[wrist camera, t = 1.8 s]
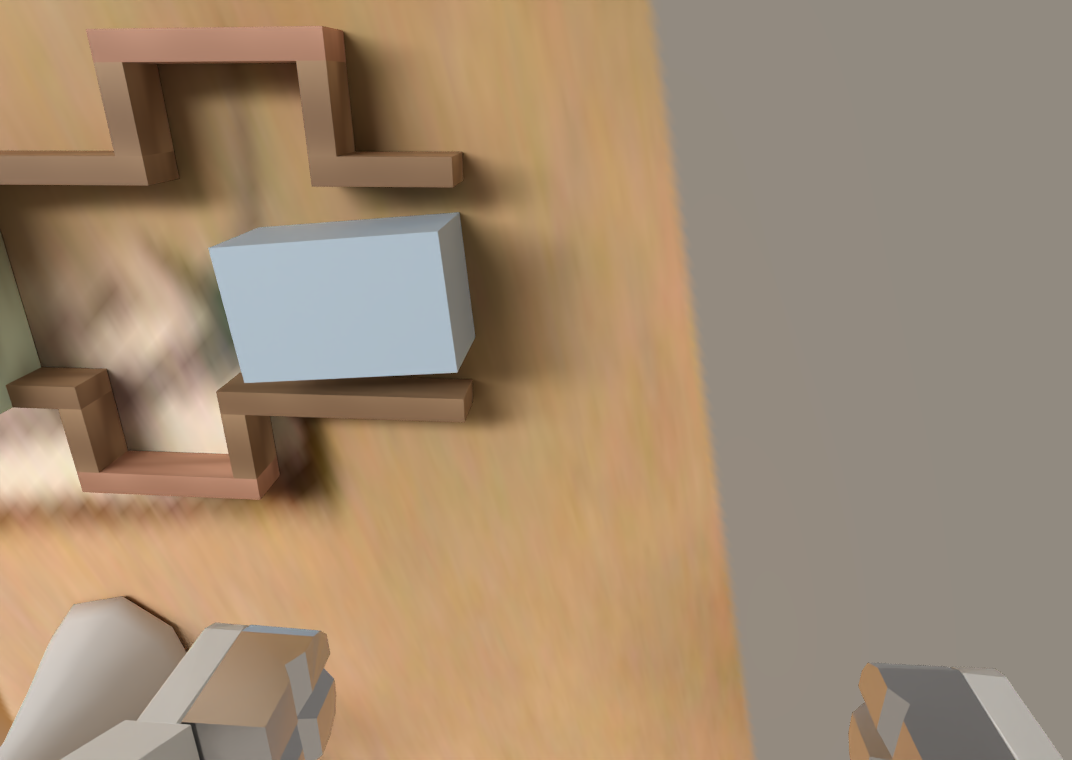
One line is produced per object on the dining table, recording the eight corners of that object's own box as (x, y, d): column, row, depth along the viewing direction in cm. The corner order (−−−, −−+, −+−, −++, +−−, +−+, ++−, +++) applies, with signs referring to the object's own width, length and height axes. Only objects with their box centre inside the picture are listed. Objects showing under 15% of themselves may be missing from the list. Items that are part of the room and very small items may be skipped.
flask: (222, 670, 37) (96, 865, 28) (129, 717, 39) (-17, 913, 30) (125, 572, 35) (-46, 747, 26) (32, 627, 37) (-157, 807, 28)
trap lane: (-85, 35, 25) (-183, 28, 22) (456, 29, 24) (434, 20, 21) (50, 466, 32) (-9, 508, 29) (476, 483, 31) (462, 529, 28)
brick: (260, 226, 27) (208, 248, 24) (460, 211, 27) (437, 231, 23) (289, 345, 29) (244, 382, 26) (476, 335, 28) (457, 372, 25)
